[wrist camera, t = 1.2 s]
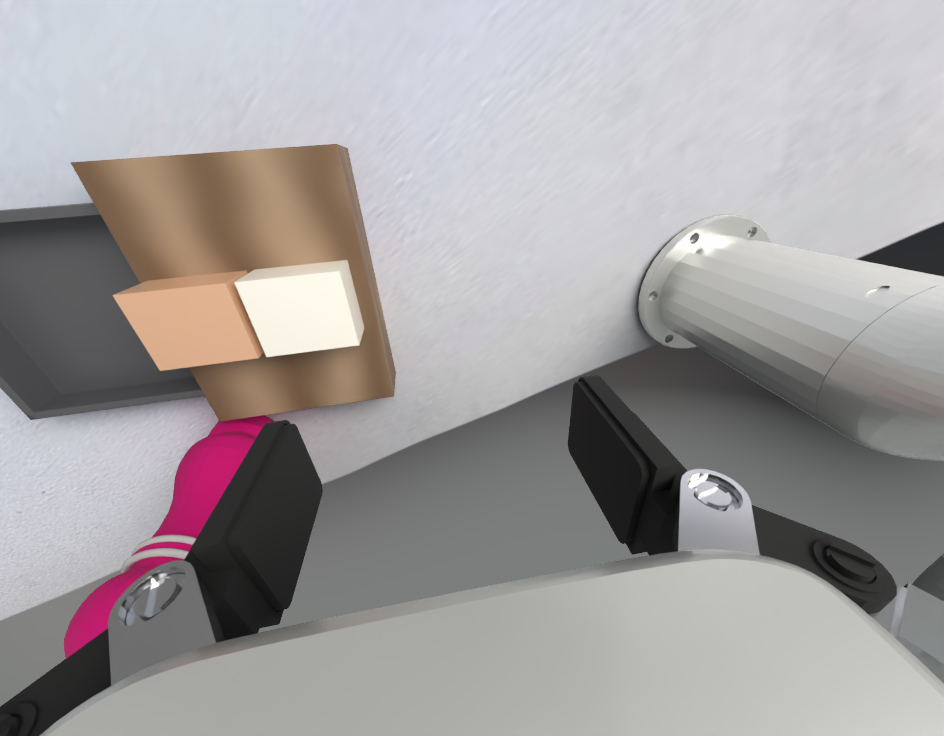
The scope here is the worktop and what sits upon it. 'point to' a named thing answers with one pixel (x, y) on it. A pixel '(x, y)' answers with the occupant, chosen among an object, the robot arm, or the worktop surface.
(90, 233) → the bin
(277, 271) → the tile cream
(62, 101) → the worktop surface
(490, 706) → the robot arm
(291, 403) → the walnut block
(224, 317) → the tan rectangular block
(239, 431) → the pepper mill
